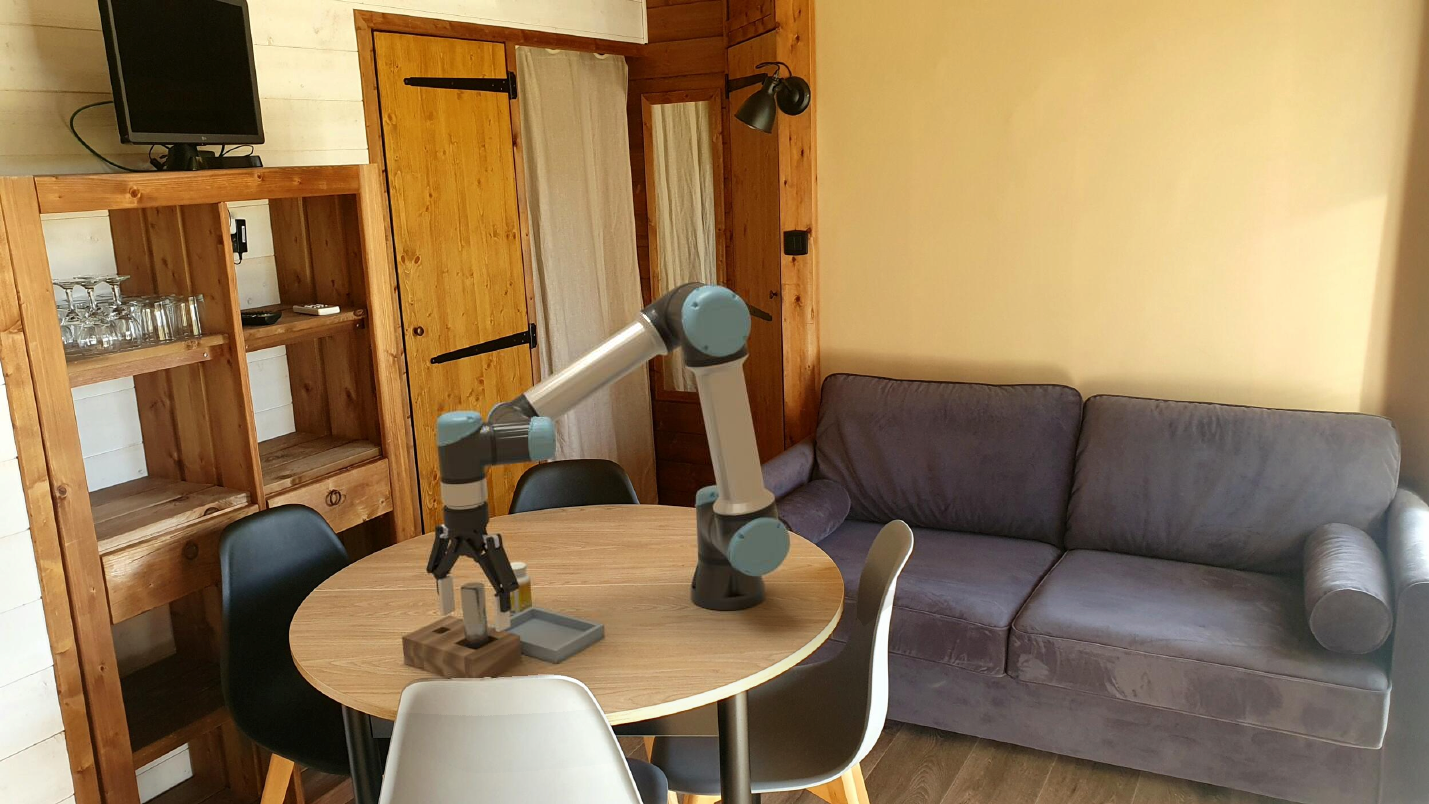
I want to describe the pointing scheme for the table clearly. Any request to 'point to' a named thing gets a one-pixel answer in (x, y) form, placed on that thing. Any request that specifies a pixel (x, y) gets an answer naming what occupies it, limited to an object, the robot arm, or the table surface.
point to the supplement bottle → (520, 589)
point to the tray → (553, 633)
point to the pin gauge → (474, 615)
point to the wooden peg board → (460, 651)
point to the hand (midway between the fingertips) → (475, 620)
